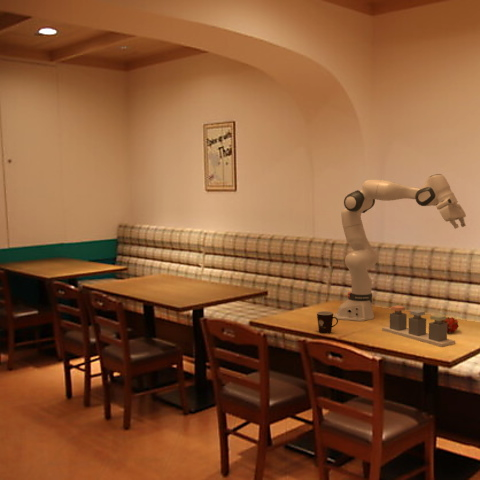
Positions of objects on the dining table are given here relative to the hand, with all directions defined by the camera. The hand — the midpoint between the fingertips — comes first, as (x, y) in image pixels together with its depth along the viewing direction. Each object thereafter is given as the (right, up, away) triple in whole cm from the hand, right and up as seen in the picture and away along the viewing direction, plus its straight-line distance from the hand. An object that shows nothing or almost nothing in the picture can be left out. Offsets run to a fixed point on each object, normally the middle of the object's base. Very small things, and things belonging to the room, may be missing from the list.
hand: (460, 227), depth 311 cm
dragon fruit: (-3, -54, +8) cm, 55 cm away
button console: (-22, -55, -1) cm, 59 cm away
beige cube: (-22, -47, -1) cm, 52 cm away
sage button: (-15, -48, -12) cm, 51 cm away
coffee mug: (-66, -55, +11) cm, 86 cm away
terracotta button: (-29, -46, +9) cm, 55 cm away
